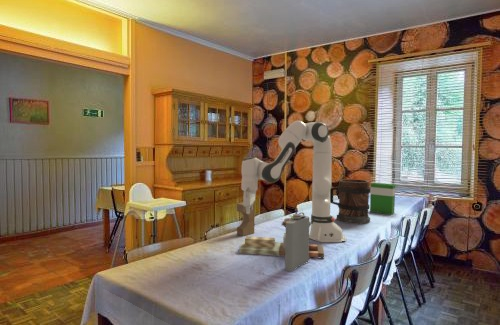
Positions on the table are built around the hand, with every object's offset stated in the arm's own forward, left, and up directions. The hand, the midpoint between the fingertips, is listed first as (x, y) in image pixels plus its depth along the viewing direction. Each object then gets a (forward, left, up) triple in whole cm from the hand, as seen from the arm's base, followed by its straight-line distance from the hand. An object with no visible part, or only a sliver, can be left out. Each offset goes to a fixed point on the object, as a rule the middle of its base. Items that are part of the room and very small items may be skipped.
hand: (249, 211), depth 180 cm
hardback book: (-95, -113, -21) cm, 149 cm away
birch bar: (-6, 0, -19) cm, 19 cm away
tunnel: (-23, 0, -18) cm, 29 cm away
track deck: (-18, 0, -21) cm, 28 cm away
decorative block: (+7, -29, -21) cm, 36 cm away
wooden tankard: (-64, -81, -21) cm, 105 cm away
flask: (-26, +19, -21) cm, 39 cm away
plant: (-25, -61, -22) cm, 69 cm away
